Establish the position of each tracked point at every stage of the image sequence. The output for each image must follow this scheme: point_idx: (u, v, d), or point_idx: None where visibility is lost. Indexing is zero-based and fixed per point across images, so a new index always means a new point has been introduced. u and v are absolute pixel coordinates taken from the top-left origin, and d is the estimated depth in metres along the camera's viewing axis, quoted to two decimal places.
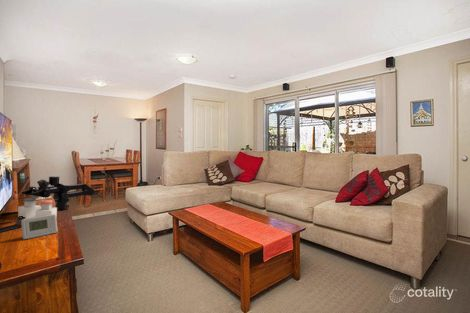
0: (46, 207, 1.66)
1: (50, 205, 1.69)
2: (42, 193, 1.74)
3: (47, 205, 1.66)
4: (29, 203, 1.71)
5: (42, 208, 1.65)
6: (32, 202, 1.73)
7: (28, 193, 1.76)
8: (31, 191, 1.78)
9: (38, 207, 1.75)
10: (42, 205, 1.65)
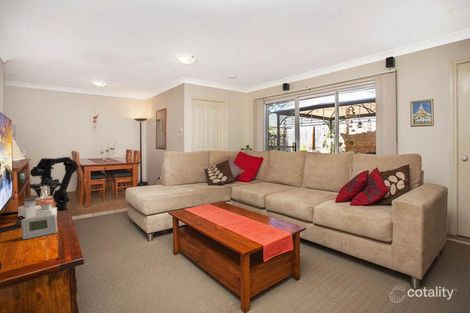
0: (46, 207, 1.66)
1: (50, 205, 1.69)
2: None
3: (47, 205, 1.66)
4: (29, 203, 1.71)
5: (42, 208, 1.65)
6: (32, 202, 1.73)
7: None
8: None
9: (38, 207, 1.75)
10: (42, 205, 1.65)
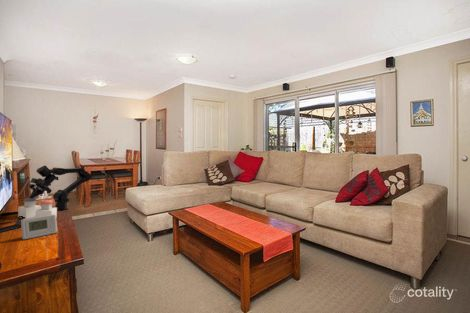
0: (46, 207, 1.66)
1: (50, 205, 1.69)
2: (39, 191, 1.77)
3: (47, 205, 1.66)
4: (29, 203, 1.71)
5: (42, 208, 1.65)
6: (32, 202, 1.73)
7: None
8: None
9: (38, 207, 1.75)
10: (42, 205, 1.65)
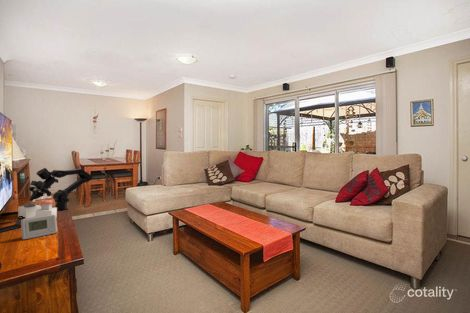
0: (46, 207, 1.66)
1: (50, 205, 1.69)
2: (39, 193, 1.77)
3: (47, 205, 1.66)
4: None
5: (42, 208, 1.65)
6: None
7: None
8: None
9: (38, 207, 1.75)
10: (42, 205, 1.65)
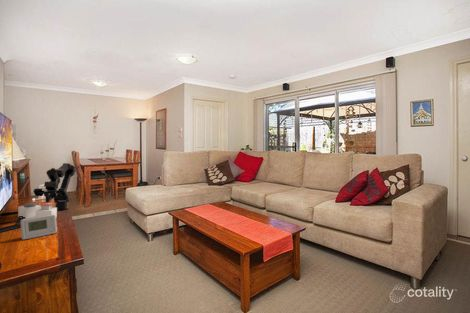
0: (46, 209, 1.66)
1: (50, 206, 1.69)
2: (53, 194, 1.73)
3: (47, 207, 1.66)
4: None
5: None
6: None
7: None
8: (48, 194, 1.72)
9: (38, 207, 1.75)
10: (42, 207, 1.65)
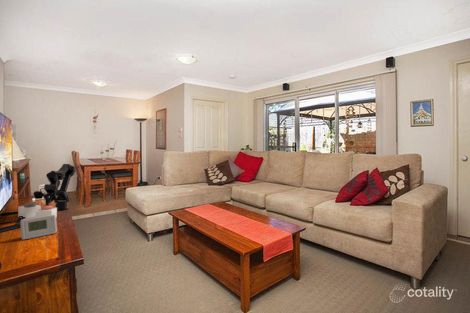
0: None
1: None
2: (53, 197, 1.73)
3: None
4: None
5: None
6: None
7: None
8: (48, 196, 1.72)
9: (38, 207, 1.75)
10: None
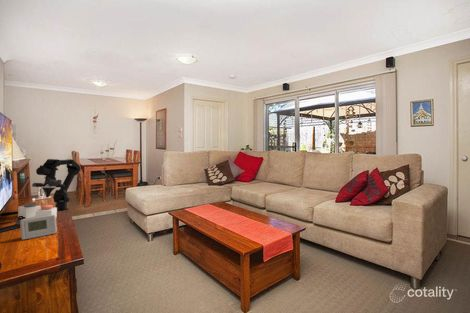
0: None
1: None
2: None
3: None
4: None
5: None
6: None
7: None
8: None
9: (38, 207, 1.75)
10: None
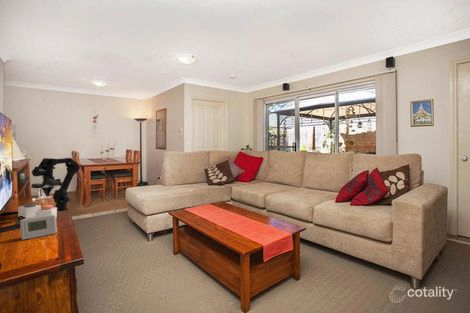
0: None
1: None
2: None
3: None
4: None
5: None
6: None
7: None
8: None
9: (38, 207, 1.75)
10: None
